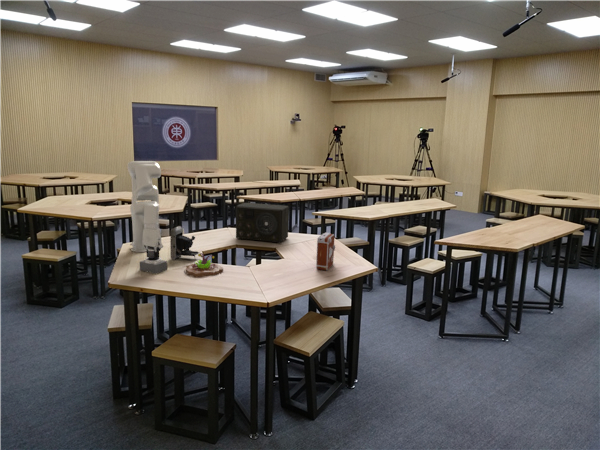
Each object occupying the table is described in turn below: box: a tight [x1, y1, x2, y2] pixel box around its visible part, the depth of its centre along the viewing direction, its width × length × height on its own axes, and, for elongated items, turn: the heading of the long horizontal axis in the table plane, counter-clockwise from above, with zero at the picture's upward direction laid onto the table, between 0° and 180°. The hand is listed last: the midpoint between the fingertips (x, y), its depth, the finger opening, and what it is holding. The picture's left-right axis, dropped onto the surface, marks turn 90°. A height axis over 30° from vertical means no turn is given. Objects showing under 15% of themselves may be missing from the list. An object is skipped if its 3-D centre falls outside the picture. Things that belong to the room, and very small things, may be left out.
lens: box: [147, 247, 158, 261], centre depth 251 cm, size 5×5×8 cm
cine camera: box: [315, 232, 336, 271], centre depth 267 cm, size 9×19×20 cm, turn 161°
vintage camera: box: [169, 225, 201, 260], centre depth 274 cm, size 10×15×20 cm, turn 78°
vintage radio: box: [235, 202, 290, 244], centre depth 328 cm, size 38×20×25 cm, turn 75°
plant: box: [185, 252, 224, 278], centre depth 252 cm, size 20×20×11 cm
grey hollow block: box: [138, 256, 168, 275], centre depth 252 cm, size 12×9×6 cm
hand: (153, 257), depth 251 cm, fingers closed on lens, 4 cm apart
